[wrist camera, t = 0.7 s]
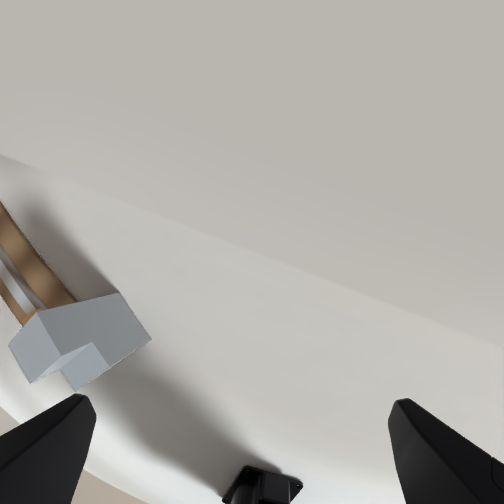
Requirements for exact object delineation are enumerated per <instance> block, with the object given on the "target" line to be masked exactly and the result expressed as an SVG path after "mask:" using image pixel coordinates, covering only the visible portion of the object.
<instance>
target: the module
mask: <svg viewBox="0 0 504 504" xmlns="http://www.w3.org/2000/svg"><path fill="white" fill-rule="evenodd" d="M22 323H23V325H24V327H23V328H22V329H21V330H20V331H19V333H18V334H17V335H16V336H15V337H14V338H13V340H12V341H11V342H10V343H9V345H8V346H9V348H10V350H11V352H12V354H13V355H14V357H15V359H16V361H17V363H18V364H19V366H20V368H21V370H22V371H23V373H24V375H25V376H26V378H27V380H28V381H29V383H30V384H31V383H33V382H35V381H37V380H39V379H41V378H43V377H45V376H47V375H49V374H51V373H53V372H55V371H57V370H59V369H60V371H61V372H62V374H63V375H64V377H65V378H66V380H67V381H68V383H69V384H70V386H71V387H72V389H73V390H74V392H75V391H77V390H78V389H80V388H81V387H83V386H84V385H86V384H88V383H89V382H91V381H92V380H94V379H95V378H97V377H98V376H100V375H101V374H103V373H104V372H106V371H107V370H109V369H110V368H112V367H113V366H115V365H116V364H118V363H119V362H121V361H122V360H123V359H125V357H127V356H128V355H130V354H131V353H132V352H134V351H135V350H137V349H138V348H140V347H141V346H143V345H144V344H146V343H147V342H148V341H150V340H151V338H150V336H149V335H148V333H147V332H146V331H145V329H144V328H143V326H142V325H141V323H140V322H139V320H138V319H137V318H136V316H135V315H134V313H133V312H132V310H131V309H130V307H129V306H128V304H127V303H126V301H125V300H124V298H123V296H122V295H121V293H120V292H119V293H115V294H111V295H106V296H102V297H98V298H94V299H90V300H85V301H81V302H77V303H73V304H68V305H64V306H60V307H56V308H51V309H47V310H43V309H37V310H33V311H30V312H29V314H28V315H27V316H26V317H25V318H24V319H23V321H22Z"/></svg>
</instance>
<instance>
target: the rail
mask: <svg viewBox="0 0 504 504" xmlns="http://www.w3.org/2000/svg"><path fill="white" fill-rule="evenodd" d="M0 295H1V296H2V298H3V299H4V301H5V302H6V304H7V305H8V307H9V308H10V310H11V311H12V313H13V314H14V315H15V317H16V318H17V319H18V321H19V322H20V324H21V325H22V326H23V327H24V325H23V323H22V321H23V319H24V318H25V317H26V316H27V315H28V314H29V312H30V311H33V310H37V309H43V310H47V309H51V308H56V307H60V306H64V305H68V304H73V303H77V302H78V301H77V300H76V299H75V298H74V297H73V296H72V295H71V294H70V292H69V291H68V290H67V289H66V288H65V287H64V286H63V284H62V283H61V282H60V281H59V280H58V279H57V277H56V276H55V275H54V274H53V273H52V271H51V270H50V269H49V268H48V267H47V265H46V264H45V263H44V262H43V260H42V259H41V258H40V257H39V255H38V254H37V253H36V251H35V250H34V249H33V247H32V246H31V245H30V243H29V242H28V241H27V239H26V238H25V237H24V235H23V234H22V233H21V231H20V230H19V228H18V227H17V226H16V224H15V223H14V221H13V220H12V218H11V217H10V215H9V214H8V212H7V211H6V209H5V208H4V206H3V205H2V203H1V202H0Z"/></svg>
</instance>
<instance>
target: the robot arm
mask: <svg viewBox="0 0 504 504" xmlns="http://www.w3.org/2000/svg"><path fill="white" fill-rule="evenodd" d="M95 423H96V413H95V410H94V408H93V406H92V404H91V402H90V400H89V398H88V397H87V396H86V395H82V394H73V395H72V396H70V397H68V398H66V399H65V400H63V401H61V402H60V403H58V404H56V405H54V406H53V407H51V408H49V409H47V410H46V411H44V412H42V413H41V414H39V415H37V416H35V417H34V418H32V419H30V420H28V421H26V422H25V423H23V424H21V425H20V426H18V427H16V428H14V429H12V430H11V431H9V432H7V433H5V434H3V435H2V436H0V504H71V501H72V497H73V495H74V492H75V489H76V486H77V483H78V480H79V477H80V474H81V472H82V469H83V466H84V464H85V461H86V458H87V454H88V450H89V446H90V442H91V438H92V434H93V431H94V427H95ZM388 428H389V433H390V438H391V443H392V449H393V455H394V461H395V466H396V470H397V474H398V477H399V480H400V484H401V487H402V491H403V494H404V498H405V501H406V504H504V464H503V463H501V462H500V461H498V460H497V459H495V458H494V457H492V458H491V455H489V454H488V453H486V452H485V451H483V450H482V449H481V448H479V447H478V446H476V445H475V444H473V443H472V442H470V441H469V440H467V439H466V438H465V437H463V436H462V435H460V434H459V433H457V432H456V431H455V430H453V429H452V428H450V427H449V426H447V425H446V424H445V423H443V422H442V421H440V420H439V419H438V418H436V417H435V416H433V415H432V414H431V413H429V412H428V411H426V410H425V409H424V408H422V407H421V406H419V405H418V404H417V403H415V402H414V401H412V400H411V399H409V398H405V399H400V400H396V401H395V402H394V405H393V408H392V410H391V413H390V416H389V419H388ZM246 470H249V471H246ZM297 485H300V486H297ZM302 488H303V483H302V482H300V481H297V480H293V479H289V478H286V477H282V476H279V475H275V474H272V473H269V472H266V471H262V470H259V469H256V468H253V467H250V466H244V467H243V468H242V469H241V471H240V472H239V474H238V475H237V477H236V478H235V480H234V481H233V483H232V484H231V486H230V487H229V489H228V490H227V492H226V493H225V495H224V496H223V498H222V502H223V503H225V504H290V502H291V501H292V500H293V499H294V498H295V496H296V495H297V494H298V493H299V492H300V490H301V489H302Z"/></svg>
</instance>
